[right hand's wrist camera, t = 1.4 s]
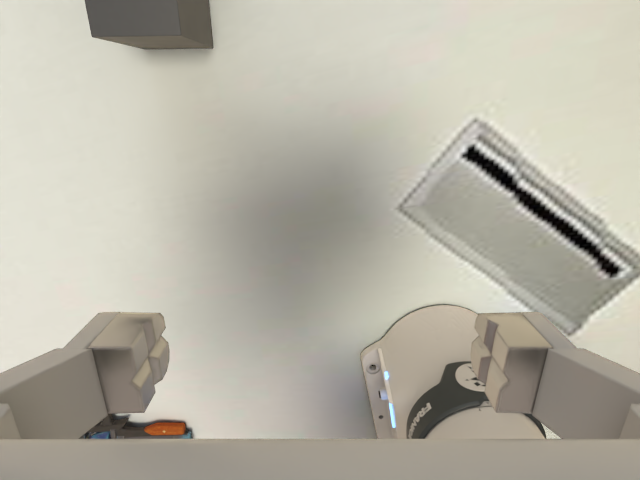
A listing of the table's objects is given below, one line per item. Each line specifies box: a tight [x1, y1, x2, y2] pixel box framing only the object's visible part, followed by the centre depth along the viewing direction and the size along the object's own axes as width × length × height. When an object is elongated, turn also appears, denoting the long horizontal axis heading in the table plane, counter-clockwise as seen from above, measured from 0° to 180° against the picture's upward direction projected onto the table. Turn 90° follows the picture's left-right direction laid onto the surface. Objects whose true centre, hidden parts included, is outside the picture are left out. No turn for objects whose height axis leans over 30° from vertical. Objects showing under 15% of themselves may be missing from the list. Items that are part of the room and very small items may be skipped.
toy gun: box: [78, 414, 192, 439], centre depth 51 cm, size 3×19×10 cm
